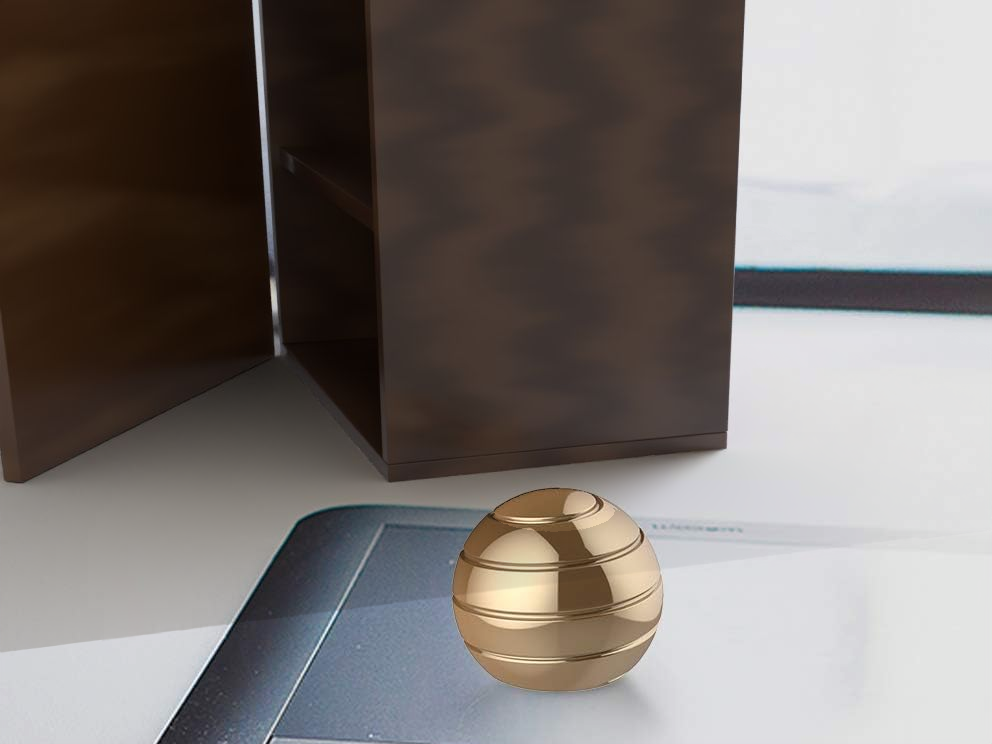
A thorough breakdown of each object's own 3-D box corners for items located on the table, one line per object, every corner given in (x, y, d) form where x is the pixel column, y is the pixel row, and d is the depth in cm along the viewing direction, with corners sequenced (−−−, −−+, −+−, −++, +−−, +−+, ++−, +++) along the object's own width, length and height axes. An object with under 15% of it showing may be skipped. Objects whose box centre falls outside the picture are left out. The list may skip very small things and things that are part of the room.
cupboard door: (-103, 467, 85) (-185, -60, 75) (173, 346, 108) (137, -70, 98) (22, 483, 83) (-46, -54, 74) (275, 356, 106) (248, -66, 97)
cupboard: (388, 484, 85) (367, -49, 75) (280, 356, 107) (253, -69, 97) (727, 450, 91) (748, -46, 82) (559, 336, 113) (560, -65, 103)
